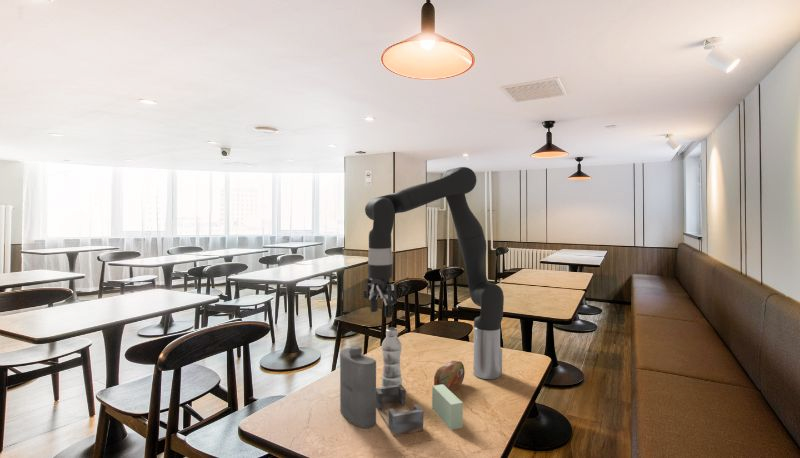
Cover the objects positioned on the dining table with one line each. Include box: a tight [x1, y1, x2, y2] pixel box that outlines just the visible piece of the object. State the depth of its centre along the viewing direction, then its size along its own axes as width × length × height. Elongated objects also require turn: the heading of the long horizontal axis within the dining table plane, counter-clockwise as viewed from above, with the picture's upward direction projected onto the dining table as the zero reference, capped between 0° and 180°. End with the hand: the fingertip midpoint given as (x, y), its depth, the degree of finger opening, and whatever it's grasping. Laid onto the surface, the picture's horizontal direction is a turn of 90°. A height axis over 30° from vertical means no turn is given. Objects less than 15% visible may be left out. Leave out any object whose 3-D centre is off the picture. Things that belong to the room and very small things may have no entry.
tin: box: [433, 360, 465, 392], centre depth 127 cm, size 15×3×8 cm, turn 139°
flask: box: [339, 345, 377, 429], centre depth 109 cm, size 15×6×20 cm, turn 37°
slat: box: [431, 384, 464, 431], centre depth 109 cm, size 4×12×7 cm, turn 20°
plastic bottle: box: [381, 327, 403, 387], centre depth 126 cm, size 6×7×20 cm
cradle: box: [376, 384, 424, 437], centre depth 109 cm, size 8×17×5 cm, turn 20°
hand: (381, 314), depth 120 cm, fingers open, 8 cm apart
